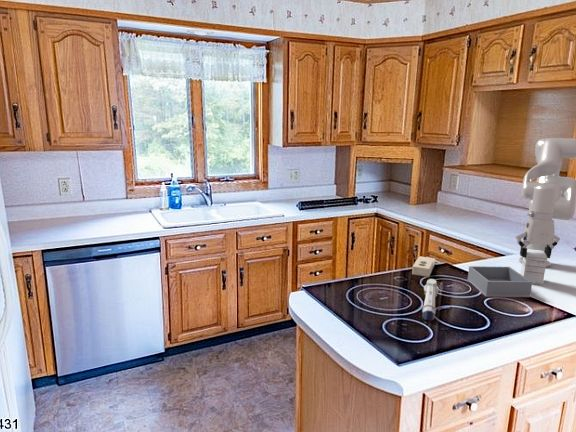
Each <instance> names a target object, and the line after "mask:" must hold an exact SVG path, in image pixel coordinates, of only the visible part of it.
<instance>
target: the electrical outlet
mask: <svg viewBox="0 0 576 432" xmlns="http://www.w3.org/2000/svg"><path fill="white" fill-rule="evenodd" d="M435 265H436V258H434V257H426V256H418V258H417V259H416V260H415V262H414V263H413V265H412V270H411V274H412V275H414V276H421V277H427V278H430V276H431V274H432V272H433V269H434V267H435Z"/></svg>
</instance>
